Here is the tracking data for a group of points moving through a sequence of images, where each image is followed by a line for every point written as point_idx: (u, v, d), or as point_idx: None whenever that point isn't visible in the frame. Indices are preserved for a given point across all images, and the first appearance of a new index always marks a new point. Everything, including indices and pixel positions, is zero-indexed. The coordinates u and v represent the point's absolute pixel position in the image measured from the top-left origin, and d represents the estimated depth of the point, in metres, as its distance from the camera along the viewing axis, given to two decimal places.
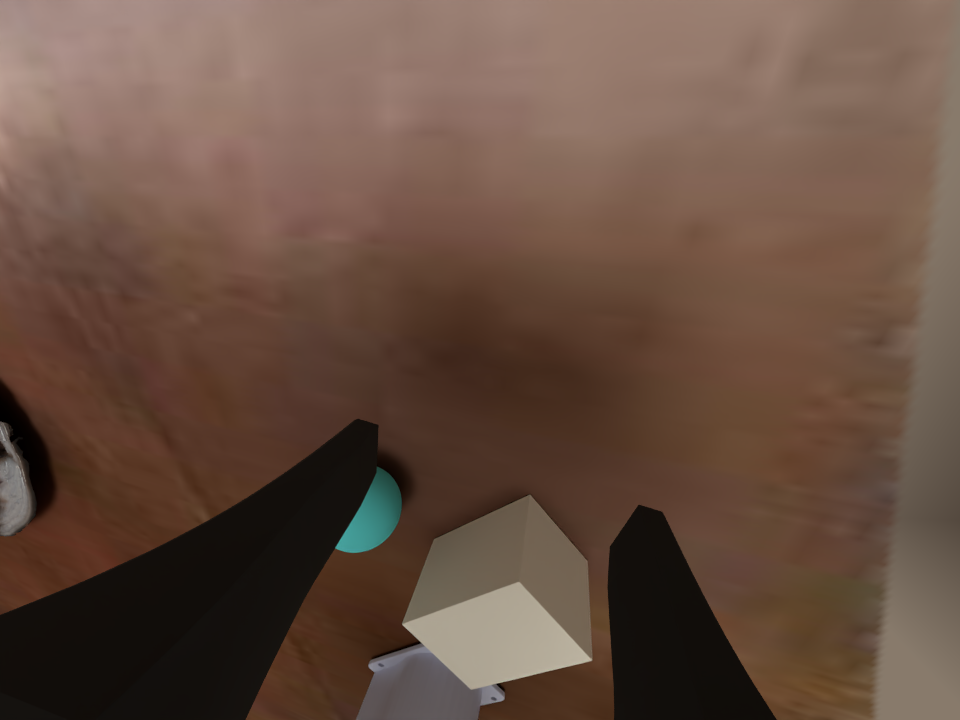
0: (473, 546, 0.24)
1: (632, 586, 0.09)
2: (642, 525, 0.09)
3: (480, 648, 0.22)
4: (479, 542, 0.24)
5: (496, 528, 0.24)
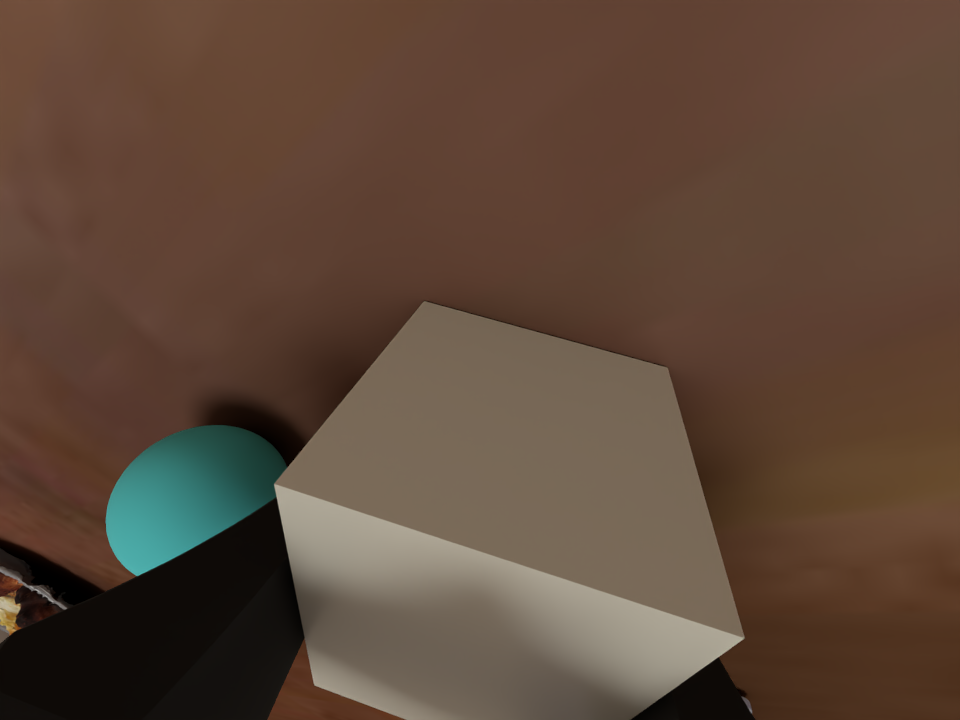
0: None
1: None
2: None
3: (456, 692, 0.08)
4: None
5: None
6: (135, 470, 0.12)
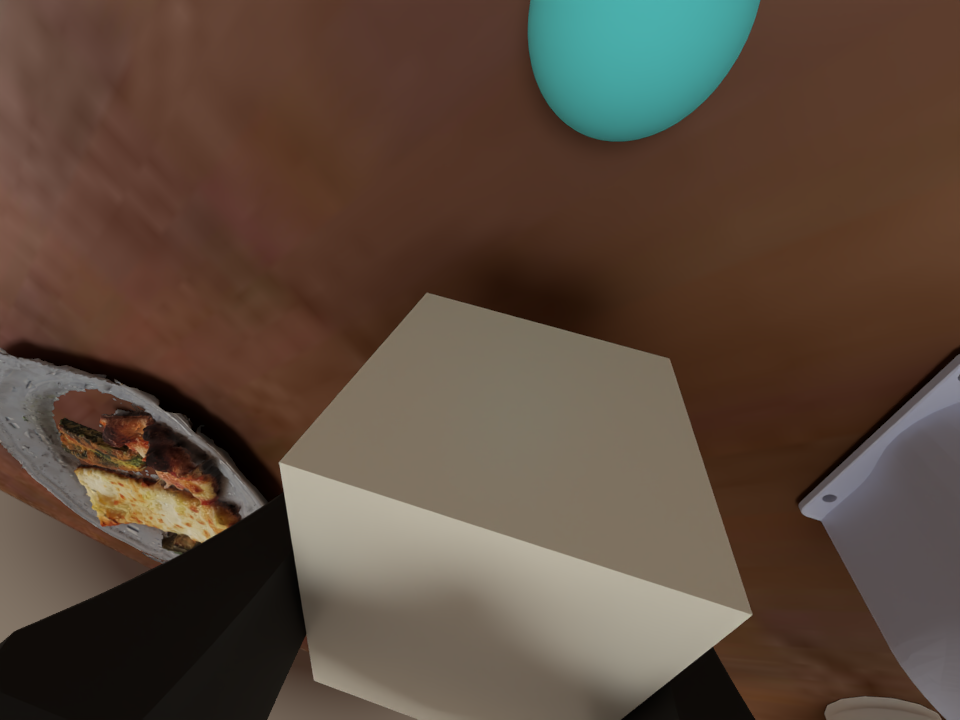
0: None
1: None
2: None
3: (459, 683, 0.08)
4: None
5: None
6: None
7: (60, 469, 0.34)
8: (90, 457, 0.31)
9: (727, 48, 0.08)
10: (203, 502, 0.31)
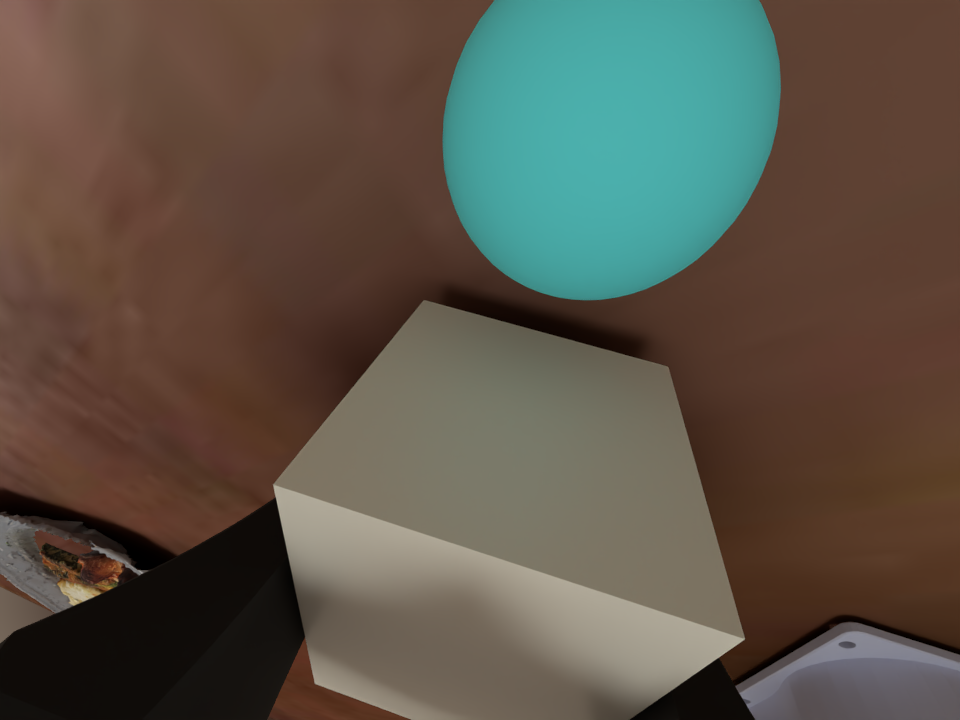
0: None
1: None
2: None
3: (457, 691, 0.08)
4: None
5: None
6: None
7: (43, 581, 0.35)
8: (71, 578, 0.33)
9: None
10: None
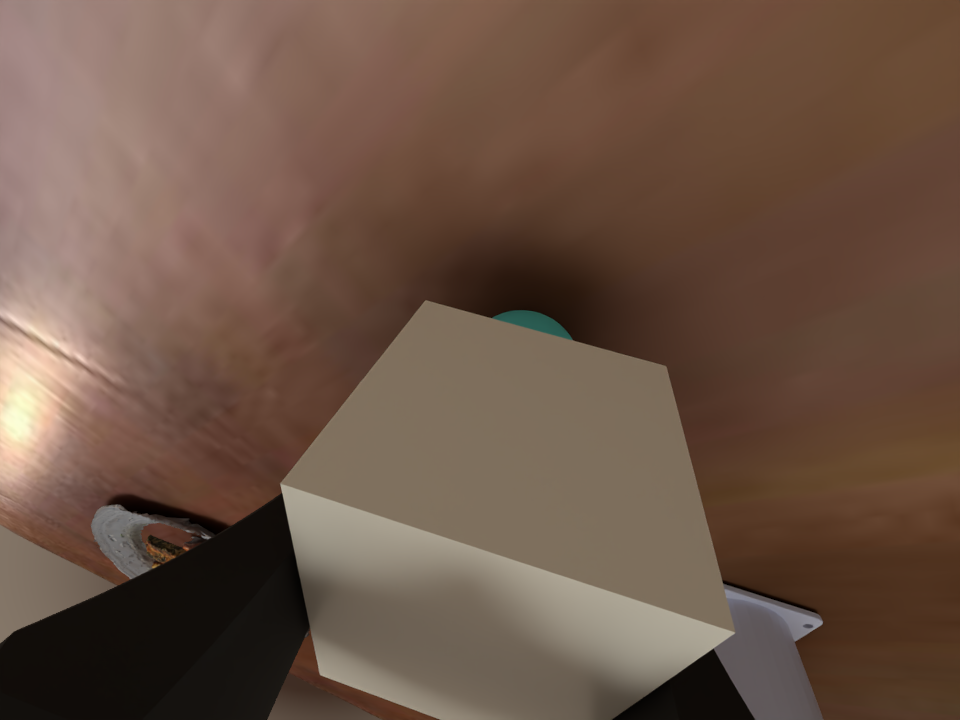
0: None
1: None
2: None
3: (458, 682, 0.08)
4: None
5: None
6: None
7: (141, 564, 0.46)
8: None
9: None
10: None
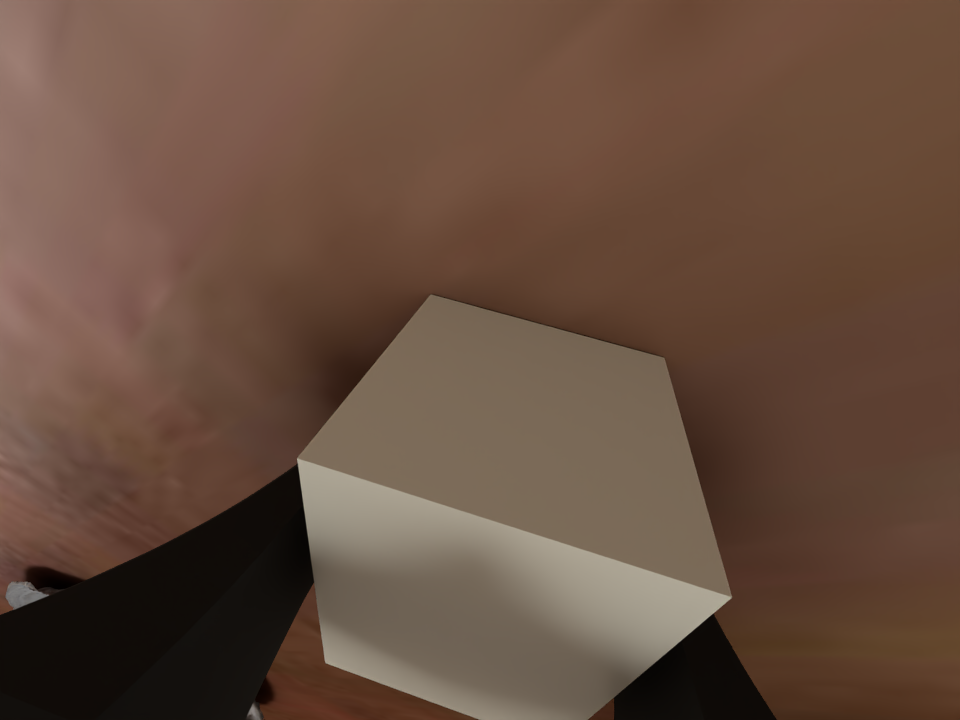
0: None
1: None
2: None
3: (463, 664, 0.08)
4: None
5: None
6: None
7: None
8: None
9: None
10: None
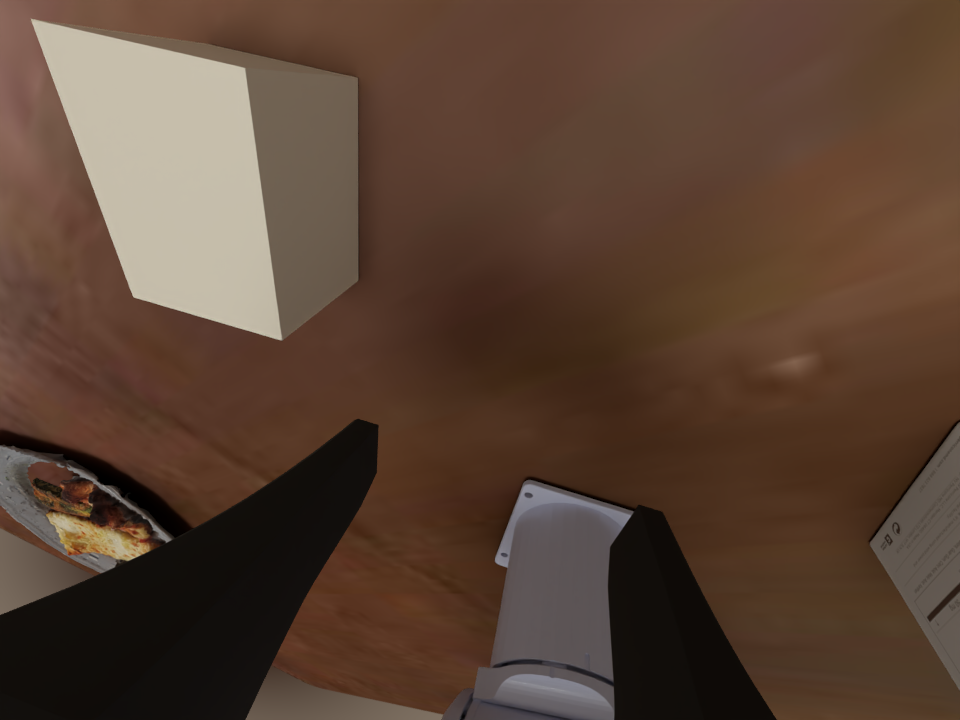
0: None
1: (632, 586, 0.09)
2: (642, 525, 0.09)
3: (191, 240, 0.13)
4: None
5: None
6: None
7: (35, 512, 0.45)
8: (56, 506, 0.42)
9: None
10: (140, 540, 0.41)
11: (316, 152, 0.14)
